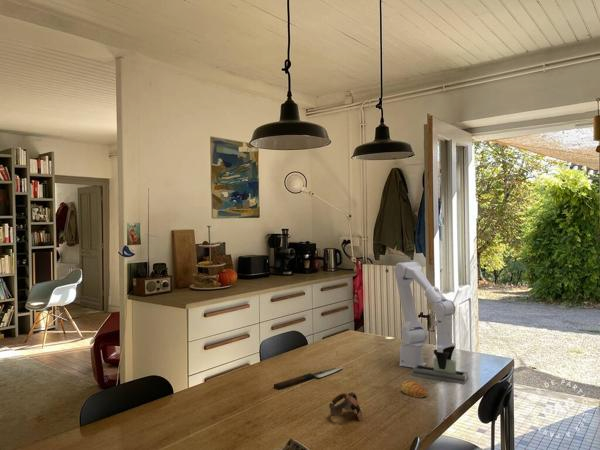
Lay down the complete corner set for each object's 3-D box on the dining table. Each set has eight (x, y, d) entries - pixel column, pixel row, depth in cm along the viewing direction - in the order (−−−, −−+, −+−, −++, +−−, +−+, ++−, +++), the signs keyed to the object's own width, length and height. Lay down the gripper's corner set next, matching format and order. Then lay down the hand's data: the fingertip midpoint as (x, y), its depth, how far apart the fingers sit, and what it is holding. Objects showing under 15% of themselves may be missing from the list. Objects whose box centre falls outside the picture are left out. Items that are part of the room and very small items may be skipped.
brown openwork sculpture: (360, 427, 137) (346, 404, 137) (335, 435, 142) (321, 412, 141) (370, 403, 148) (357, 381, 148) (346, 410, 152) (333, 390, 152)
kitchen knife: (282, 386, 166) (273, 383, 170) (282, 392, 166) (273, 388, 170) (348, 365, 190) (339, 363, 194) (348, 371, 190) (339, 368, 194)
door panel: (433, 374, 181) (433, 358, 181) (435, 372, 182) (434, 357, 182) (454, 377, 176) (454, 361, 176) (455, 375, 178) (455, 360, 178)
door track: (411, 375, 182) (411, 369, 182) (417, 369, 189) (417, 363, 189) (463, 384, 172) (463, 377, 172) (468, 378, 178) (468, 371, 178)
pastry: (431, 396, 161) (431, 385, 161) (417, 400, 157) (417, 389, 157) (412, 388, 169) (411, 378, 169) (398, 392, 165) (398, 381, 165)
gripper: (450, 337, 171) (450, 373, 171) (459, 329, 183) (459, 362, 183) (431, 334, 175) (431, 370, 175) (441, 327, 187) (441, 360, 187)
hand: (444, 366), depth 179 cm, fingers open, 7 cm apart
